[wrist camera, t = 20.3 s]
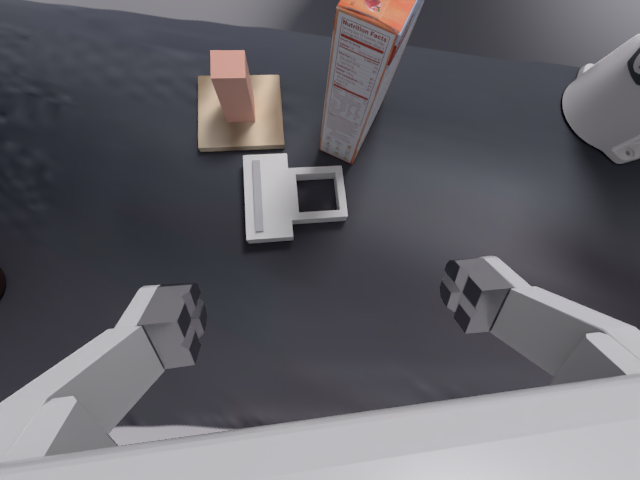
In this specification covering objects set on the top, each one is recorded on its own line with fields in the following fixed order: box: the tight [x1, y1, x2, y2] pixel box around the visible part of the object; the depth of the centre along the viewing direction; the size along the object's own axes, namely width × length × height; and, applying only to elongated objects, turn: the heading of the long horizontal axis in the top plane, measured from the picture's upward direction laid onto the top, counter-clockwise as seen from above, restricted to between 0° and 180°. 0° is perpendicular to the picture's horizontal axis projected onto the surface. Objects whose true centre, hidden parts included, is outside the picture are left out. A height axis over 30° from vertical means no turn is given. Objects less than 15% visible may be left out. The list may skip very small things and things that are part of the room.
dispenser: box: [243, 153, 348, 244], centre depth 38 cm, size 14×12×2 cm
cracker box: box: [319, 0, 424, 164], centre depth 33 cm, size 14×6×21 cm, turn 155°
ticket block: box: [210, 50, 255, 122], centre depth 37 cm, size 4×4×8 cm
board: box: [198, 75, 285, 152], centre depth 41 cm, size 12×12×1 cm
